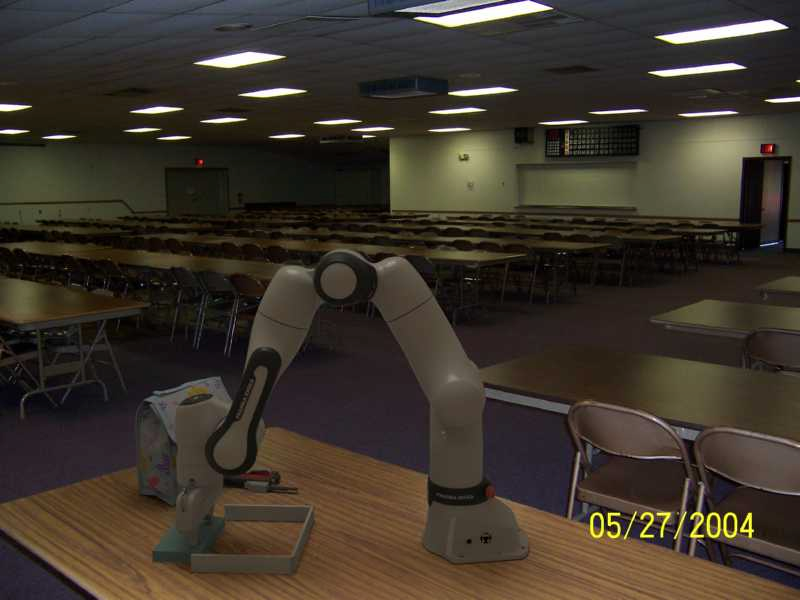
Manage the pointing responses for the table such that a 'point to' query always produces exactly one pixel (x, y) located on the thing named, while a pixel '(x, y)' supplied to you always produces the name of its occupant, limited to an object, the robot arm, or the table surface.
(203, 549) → the cover plate
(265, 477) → the walkie-talkie
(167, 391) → the lunch bag
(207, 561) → the grey u-shaped frame
